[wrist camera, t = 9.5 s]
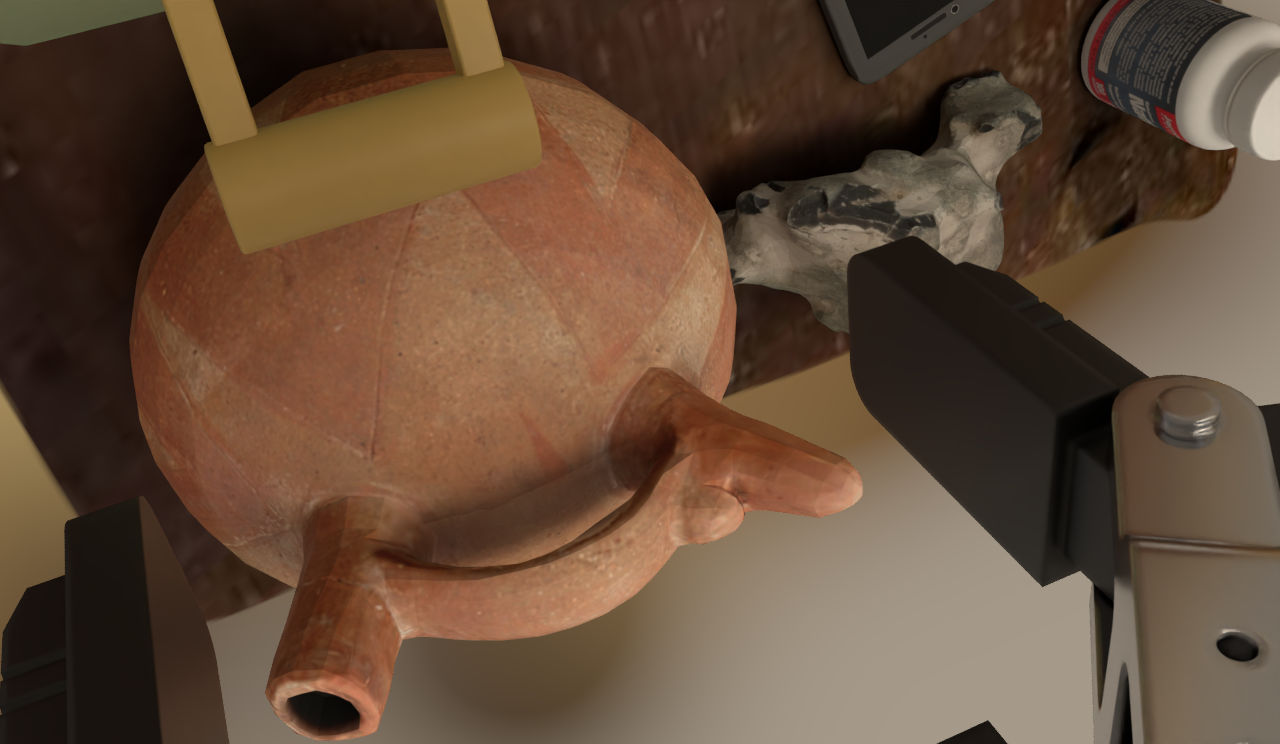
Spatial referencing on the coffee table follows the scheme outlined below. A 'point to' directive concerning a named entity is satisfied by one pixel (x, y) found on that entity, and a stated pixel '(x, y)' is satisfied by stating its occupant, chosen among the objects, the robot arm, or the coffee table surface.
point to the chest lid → (329, 122)
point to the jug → (457, 394)
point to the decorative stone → (887, 202)
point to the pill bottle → (1189, 71)
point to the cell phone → (891, 30)
